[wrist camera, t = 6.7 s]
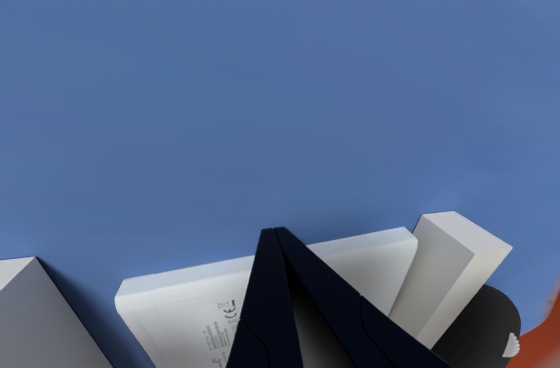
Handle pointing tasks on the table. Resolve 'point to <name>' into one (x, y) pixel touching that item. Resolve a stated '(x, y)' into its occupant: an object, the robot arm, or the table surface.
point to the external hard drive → (231, 291)
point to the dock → (405, 313)
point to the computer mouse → (482, 332)
